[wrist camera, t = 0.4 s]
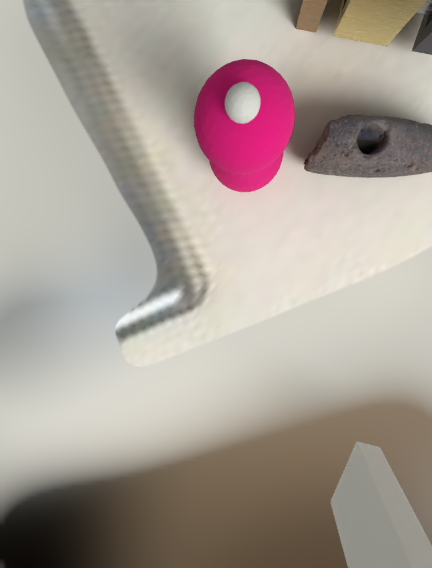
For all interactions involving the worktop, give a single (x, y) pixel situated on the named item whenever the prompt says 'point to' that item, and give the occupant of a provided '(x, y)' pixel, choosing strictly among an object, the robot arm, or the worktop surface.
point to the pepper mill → (244, 123)
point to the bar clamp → (315, 6)
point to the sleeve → (374, 19)
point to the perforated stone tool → (372, 148)
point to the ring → (424, 36)
